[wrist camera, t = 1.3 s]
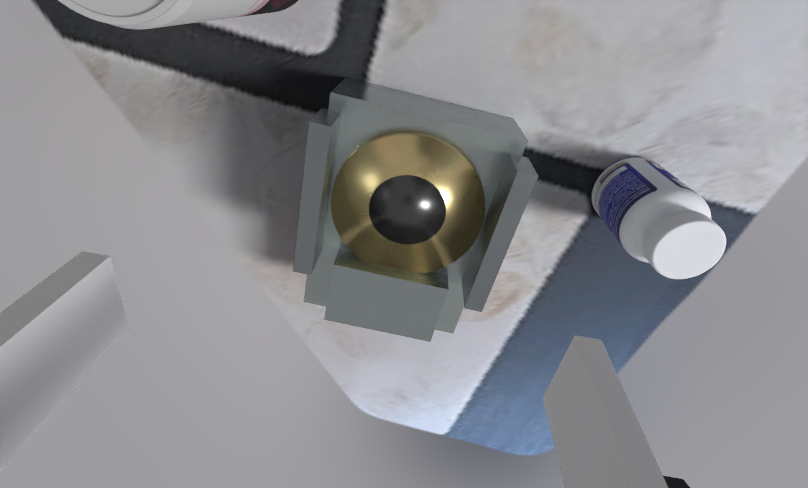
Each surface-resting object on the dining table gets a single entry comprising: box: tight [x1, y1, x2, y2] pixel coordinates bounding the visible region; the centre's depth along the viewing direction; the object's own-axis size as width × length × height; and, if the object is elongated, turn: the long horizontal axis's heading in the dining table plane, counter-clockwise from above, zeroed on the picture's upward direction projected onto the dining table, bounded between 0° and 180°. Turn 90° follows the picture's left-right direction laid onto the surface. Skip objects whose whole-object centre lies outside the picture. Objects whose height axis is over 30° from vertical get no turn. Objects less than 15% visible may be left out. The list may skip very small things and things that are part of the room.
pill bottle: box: [592, 157, 726, 279], centre depth 28 cm, size 5×5×9 cm
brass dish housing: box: [293, 78, 538, 341], centre depth 30 cm, size 16×13×8 cm
